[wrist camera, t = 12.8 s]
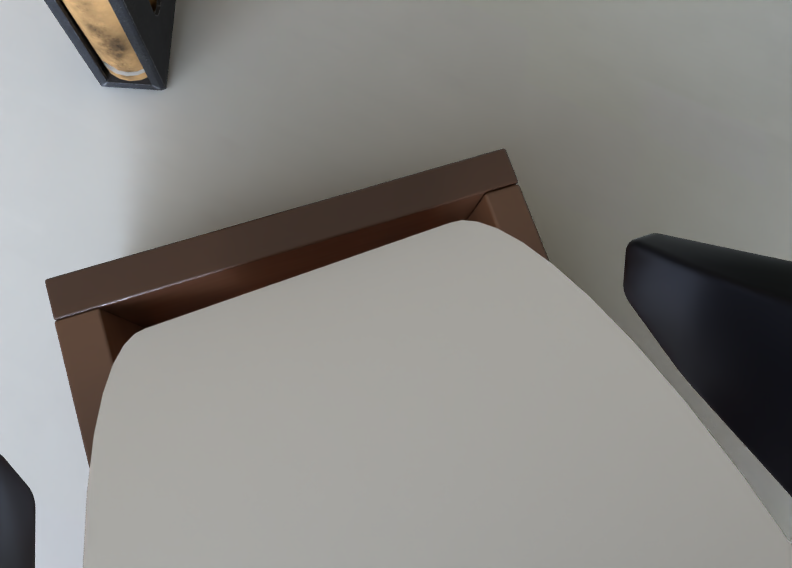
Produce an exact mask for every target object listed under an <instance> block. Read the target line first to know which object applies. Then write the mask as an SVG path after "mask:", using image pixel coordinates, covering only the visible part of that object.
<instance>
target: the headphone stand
mask: <svg viewBox="0 0 792 568" xmlns="http://www.w3.org/2000/svg"><path fill="white" fill-rule="evenodd" d="M83 568H792V545H791V543H790V542H789V540H788V539H787V538H786V536H785V535H784V533H783V532H782V530H781V529H780V528H779V526H778V525H777V523H776V522H775V521H774V519H773V518H772V516H771V515H770V513H769V512H768V511H767V509H766V508H765V506H764V505H763V503H762V502H761V501H760V499H759V498H758V496H757V495H756V494H755V492H754V491H753V489H752V488H751V486H750V485H749V484H748V482H747V481H746V479H745V478H744V477H743V475H742V474H741V472H740V471H739V470H738V469H737V467H736V466H735V465H734V463H733V462H732V461H731V460H730V458H729V457H728V456H727V454H726V453H725V452H724V451H723V449H722V448H721V447H720V445H719V444H718V443H717V442H716V440H715V439H714V438H713V436H712V435H711V434H710V433H709V431H708V430H707V429H706V427H705V426H704V425H703V424H702V422H701V421H700V420H699V418H698V417H697V416H696V415H695V413H694V412H693V411H692V409H691V408H690V407H689V406H688V404H687V403H686V402H685V401H684V399H683V398H682V397H681V396H680V395H679V394H678V392H677V391H676V390H675V389H674V388H673V387H672V385H671V384H670V383H669V382H668V381H667V380H666V378H665V377H664V376H663V375H662V374H661V373H660V372H659V370H658V369H657V368H656V367H655V366H654V365H653V363H652V362H651V361H650V360H649V359H648V358H647V357H646V355H645V354H644V353H643V352H642V351H641V350H640V348H639V347H638V346H637V345H636V344H635V343H634V342H633V340H632V339H631V338H630V337H629V336H628V335H627V334H626V333H625V332H624V331H623V330H622V329H621V328H620V327H619V326H618V325H617V324H616V323H615V322H614V321H613V320H612V319H611V318H610V317H609V316H608V315H607V314H606V313H605V312H604V311H603V310H602V309H601V308H600V307H599V306H598V305H597V304H596V303H595V302H594V301H593V300H592V299H591V298H590V297H589V296H588V295H587V294H586V293H585V292H584V291H583V290H581V289H580V288H579V287H578V286H577V285H576V284H575V283H574V282H572V281H571V280H570V279H569V278H568V277H567V276H566V275H564V274H563V273H562V272H561V271H560V270H559V269H558V268H557V267H555V266H554V265H553V264H552V263H550V262H549V261H548V260H546V259H545V258H544V257H542V256H541V255H539V254H538V253H537V252H535V251H534V250H533V249H531V248H530V247H528V246H527V245H526V244H524V243H523V242H521V241H519V240H518V239H516V238H514V237H512V236H510V235H508V234H507V233H505V232H503V231H501V230H499V229H498V228H495V227H492V226H489V225H486V224H483V223H480V222H476V221H465V220H460V221H456V222H451V223H448V224H445V225H442V226H439V227H436V228H433V229H430V230H428V231H425V232H422V233H419V234H416V235H413V236H410V237H407V238H405V239H402V240H399V241H396V242H393V243H390V244H387V245H384V246H381V247H379V248H376V249H373V250H370V251H367V252H364V253H361V254H358V255H356V256H353V257H350V258H347V259H344V260H341V261H338V262H335V263H332V264H330V265H327V266H324V267H321V268H318V269H315V270H312V271H309V272H307V273H304V274H301V275H298V276H295V277H292V278H289V279H286V280H283V281H281V282H278V283H275V284H272V285H269V286H266V287H263V288H260V289H257V290H255V291H252V292H249V293H246V294H243V295H240V296H237V297H234V298H232V299H229V300H226V301H223V302H220V303H217V304H214V305H211V306H208V307H206V308H203V309H200V310H197V311H194V312H191V313H188V314H185V315H183V316H180V317H177V318H174V319H171V320H168V321H165V322H162V323H159V324H157V325H154V326H151V327H148V328H145V329H143V330H141V331H139V332H137V333H135V334H134V335H133V336H132V337H131V338H130V339H129V340H128V341H127V342H126V343H125V344H124V346H123V347H122V349H121V351H120V353H119V355H118V356H117V358H116V360H115V362H114V364H113V366H112V369H111V371H110V374H109V377H108V380H107V383H106V386H105V389H104V392H103V395H102V400H101V404H100V409H99V414H98V418H97V423H96V428H95V432H94V438H93V446H92V455H91V463H90V471H89V479H88V487H87V500H86V519H85V537H84V556H83Z"/></svg>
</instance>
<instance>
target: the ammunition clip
mask: <svg viewBox="0 0 792 568" xmlns="http://www.w3.org/2000/svg"><path fill="white" fill-rule="evenodd" d="M44 1H45V2H46V4H47V5H48V7H49V8H50V10H51V11H52V13H53V14H54V16H55V17H56V19H57V20H58V22H59V23H60V25H61V26H62V28H63V29H64V31H65V32H66V34H67V35H68V37H69V38H70V40H71V41H72V43H73V44H74V46H75V47H76V49H77V50H78V52H79V53H80V55H81V56H82V58H83V59H84V61H85V62H86V64H87V65H88V67H89V68H90V70H91V71H92V73H93V74H94V76H95V77H96V79H97V80H98V82H99V83H100V85H102V86H106V87H121V88H137V89H153V90H163V89H166V84H167V75H168V66H169V56H170V47H171V38H172V29H173V20H174V10H175V1H176V0H44Z"/></svg>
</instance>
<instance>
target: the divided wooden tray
mask: <svg viewBox="0 0 792 568" xmlns="http://www.w3.org/2000/svg"><path fill="white" fill-rule="evenodd" d="M517 183H518V180H517V177H516V175H515V172H514V170H513V167H512V165H511V162H510V160H509V157H508V155H507V152H506V150H505V149H500V150H496V151H493V152H489V153H486V154H482V155H479V156H475V157H472V158H468V159H465V160H461V161H458V162H454V163H451V164H447V165H444V166H441V167H437V168H434V169H430V170H427V171H423V172H420V173H416V174H413V175H409V176H406V177H402V178H399V179H395V180H392V181H388V182H385V183H381V184H378V185H374V186H371V187H367V188H364V189H360V190H357V191H353V192H350V193H346V194H343V195H339V196H336V197H332V198H329V199H325V200H322V201H318V202H315V203H311V204H308V205H304V206H301V207H297V208H294V209H290V210H287V211H283V212H280V213H276V214H273V215H269V216H266V217H262V218H259V219H255V220H252V221H248V222H245V223H241V224H238V225H234V226H231V227H227V228H224V229H220V230H217V231H213V232H210V233H206V234H203V235H199V236H196V237H192V238H189V239H185V240H182V241H178V242H175V243H171V244H168V245H164V246H161V247H157V248H154V249H150V250H147V251H143V252H140V253H136V254H133V255H129V256H126V257H123V258H119V259H116V260H112V261H109V262H105V263H102V264H98V265H95V266H91V267H88V268H84V269H81V270H77V271H74V272H70V273H67V274H63V275H60V276H56V277H53V278H49V279H47V280H45V283H46V288H47V292H48V296H49V300H50V304H51V308H52V313H53V317H54V319H55V320H56V321H55V326H56V330H57V335H58V339H59V343H60V347H61V351H62V355H63V360H64V364H65V368H66V372H67V376H68V380H69V385H70V389H71V393H72V397H73V401H74V405H75V410H76V414H77V418H78V422H79V426H80V431H81V435H82V439H83V443H84V447H85V451H86V456H87V460H88V464H89V468H90V463H91V455H92V446H93V438H94V432H95V428H96V423H97V418H98V414H99V409H100V404H101V400H102V395H103V392H104V389H105V386H106V383H107V380H108V377H109V374H110V371H111V369H112V366H113V364H114V362H115V360H116V358H117V356H118V355H119V353H120V351H121V349H122V347H123V346H124V344H125V343H126V342H127V341H128V340H129V339H130V338H131V337H132V336H133V335H134V334H135V333H137V332H139V331H141V330H143V329H145V328H148V327H151V326H154V325H157V324H159V323H162V322H165V321H168V320H171V319H174V318H177V317H180V316H183V315H185V314H188V313H191V312H194V311H197V310H200V309H203V308H206V307H208V306H211V305H214V304H217V303H220V302H223V301H226V300H229V299H232V298H234V297H237V296H240V295H243V294H246V293H249V292H252V291H255V290H257V289H260V288H263V287H266V286H269V285H272V284H275V283H278V282H281V281H283V280H286V279H289V278H292V277H295V276H298V275H301V274H304V273H307V272H309V271H312V270H315V269H318V268H321V267H324V266H327V265H330V264H332V263H335V262H338V261H341V260H344V259H347V258H350V257H353V256H356V255H358V254H361V253H364V252H367V251H370V250H373V249H376V248H379V247H381V246H384V245H387V244H390V243H393V242H396V241H399V240H402V239H405V238H407V237H410V236H413V235H416V234H419V233H422V232H425V231H428V230H430V229H433V228H436V227H439V226H442V225H445V224H448V223H451V222H456V221H460V220H465V221H476V222H480V223H483V224H486V225H489V226H492V227H495V228H498V229H499V230H501V231H503V232H505V233H507V234H508V235H510V236H512V237H514V238H516V239H518V240H519V241H521V242H523V243H524V244H526V245H527V246H528V247H530V248H531V249H533V250H534V251H535V252H537V253H538V254H539V255H541V256H542V257H544V258H545V259H546V260H548V261H549V259H548V257H547V254H546V252H545V249H544V247H543V244H542V242H541V239H540V237H539V234H538V232H537V229H536V226H535V224H534V221H533V219H532V216H531V214H530V211H529V209H528V206H527V204H526V201H525V199H524V196H523V194H522V191H521V189H520V186H519V185H516V184H517Z"/></svg>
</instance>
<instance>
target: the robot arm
mask: <svg viewBox="0 0 792 568" xmlns="http://www.w3.org/2000/svg"><path fill="white" fill-rule="evenodd" d="M623 287H624V292H625V296H626V298H627V300H628V301H629V303H630V304H631V306H632V307H633V308H634V310H635V311H636V312H637V314H638V315H639V317H640V318H641V319H642V321H643V322H644V323H645V325H646V326H647V328H648V329H649V330H650V332H651V333H652V335H653V336H654V337H655V339H656V340H657V341H658V343H659V344H660V346H661V347H662V348H663V350H664V351H665V352H666V354H667V355H668V357H669V358H670V359H671V361H672V362H673V363H674V365H675V366H676V367H677V369H678V370H679V371H680V372H681V374H682V375H683V376H684V377H685V379H686V380H687V381H688V382H689V383H690V384H691V386H692V387H693V388H694V389H695V390H696V391H697V392H698V394H699V395H700V396H701V397H702V398H703V399H704V400H705V401H706V402H707V404H708V405H709V406H710V407H711V408H712V409H713V410H714V411H715V412H716V413H717V415H718V416H719V417H720V418H721V419H722V420H723V421H724V422H725V423H726V425H727V426H728V427H729V428H730V429H731V430H732V431H733V432H734V433H735V435H736V436H737V437H738V438H739V439H740V440H741V441H742V442H743V443H744V445H745V446H746V447H747V448H748V449H749V450H750V451H751V452H752V453H753V454H754V456H755V457H756V458H757V459H758V460H759V461H760V462H761V463H762V464H763V466H764V467H765V468H766V469H767V470H768V471H769V472H770V473H771V474H772V476H773V477H774V478H775V479H776V480H777V481H778V482H779V483H780V484H781V486H782V487H783V488H784V489H785V490H786V491H787V492H788V493H789V494H790V496H791V497H792V262H791V261H787V260H782V259H777V258H772V257H768V256H763V255H758V254H753V253H749V252H744V251H739V250H734V249H730V248H725V247H720V246H715V245H711V244H706V243H701V242H696V241H692V240H687V239H682V238H677V237H673V236H668V235H663V234H658V233H653V234H649V235H646V236H643V237H640V238H637V239H634V240H632V241H631V242H629V244H628V245H627V247H626V255H625V268H624V281H623ZM0 568H35V500H34V497H33V494H32V492H31V490H30V488H29V487H28V486H27V484H26V483H25V482H24V481H23V480H22V478H21V477H20V476H19V475H18V474H17V473H16V471H15V470H14V469H13V468H12V467H11V465H10V464H9V463H8V462H7V461H6V459H5V458H4V457H3V456H2V455H1V454H0Z"/></svg>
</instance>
